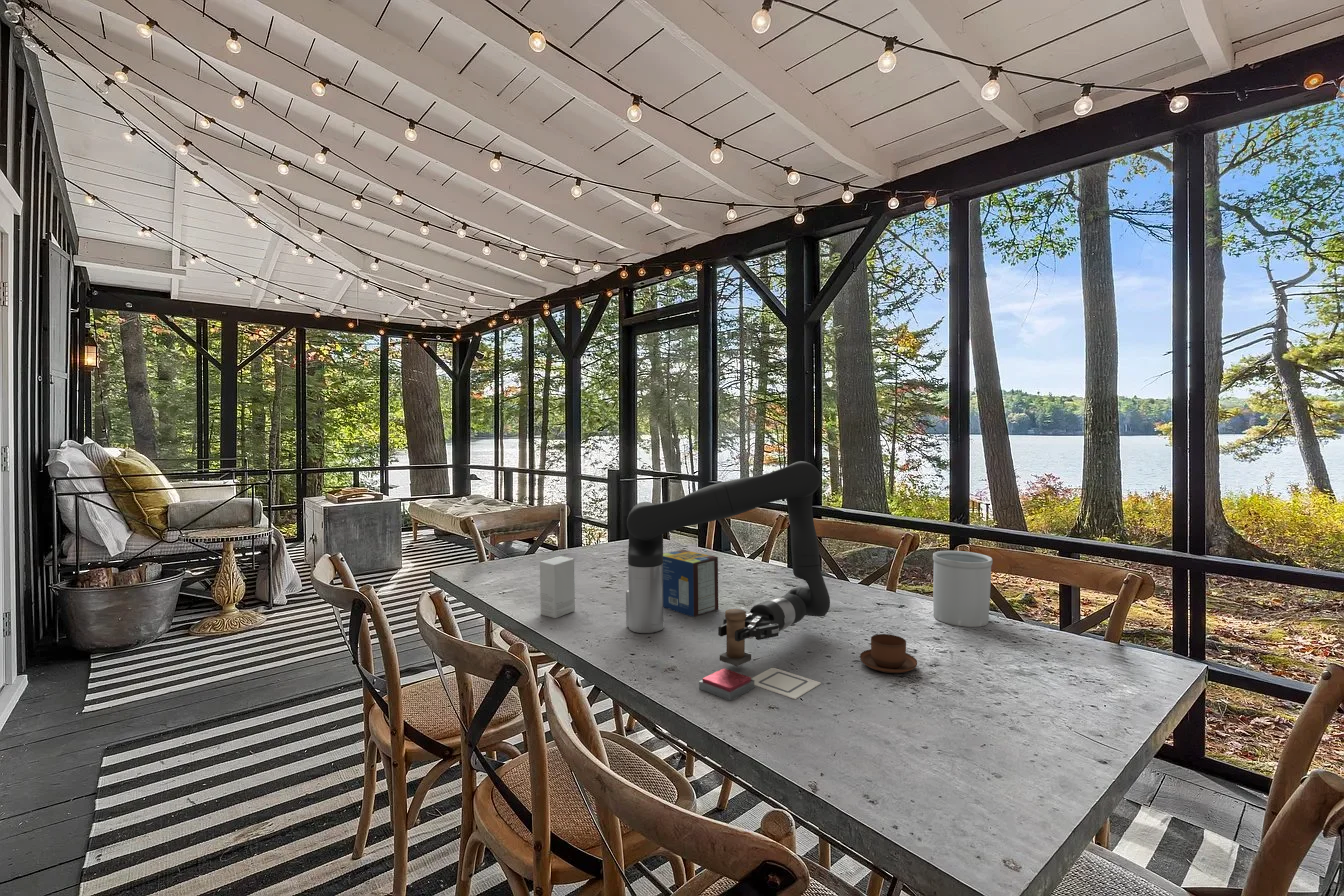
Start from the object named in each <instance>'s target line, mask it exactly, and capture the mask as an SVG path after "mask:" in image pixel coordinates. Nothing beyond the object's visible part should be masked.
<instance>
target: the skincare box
mask: <svg viewBox="0 0 1344 896" xmlns="http://www.w3.org/2000/svg"><path fill="white" fill-rule="evenodd" d="M575 584H576V583H575V558H572V557H567V556H561V555H560V556H556V557H552V558H549V559H545V560H544V559H543V560H542V561H539V587H540V588H539V591H540V592H539V593H540V594H539V597H540V603H539V604H540V615H541V616H545V617H548V618H553V619H557V618H560V617H562V616H566V615H567V614H570V613H574V612H575V611H576V596H575V595H576V592H575V591H576V589H575V588H576V587H575Z"/></svg>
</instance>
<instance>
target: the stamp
mask: <svg viewBox="0 0 1344 896" xmlns="http://www.w3.org/2000/svg"><path fill="white" fill-rule="evenodd" d="M724 614H725V615H724V618H726V619H727V635H726V647H725V649H726V650H725V651H726V652H723V653H721V654H719V661H720V662H722V663H726V664H729V665H732V666H736V667H740V666H742V665H744V664H747V663H748V662H750V661H752V654H750V653H747V652H746V651H745V647H746V646H745V645H746V644H745V643H746V642H745V641H746V639H744V640H741V641H739V642H738V641H735V631H737V630H739V629H742V628H744V627H745V619H746V614H747V611H746V610H744V609H741V608H729V609H726V610H725V613H724Z"/></svg>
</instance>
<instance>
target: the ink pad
mask: <svg viewBox="0 0 1344 896" xmlns="http://www.w3.org/2000/svg"><path fill="white" fill-rule="evenodd" d="M751 678H752V677H750V676H748V675H745V674H743V673H739V672H737V671H734V670H730V669H728V668H721V669H720V670H717V671H715V672H713V673H711V674H709V675H706V676H705V677H703V678H702V679H701V680H699V681H698V689H699V690H701V691H703V692H706V693H709V694H711V695H714V696H717V697H719V698H721V697H722V699H724V700H727V701H729V702H731V701H732V700H735V699H736V698H738V697H740V696H742V695H743V694H746V693H748V692H749V691H752V690H753V689H755V685H754V680H752V679H751Z"/></svg>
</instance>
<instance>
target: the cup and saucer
mask: <svg viewBox="0 0 1344 896" xmlns="http://www.w3.org/2000/svg"><path fill="white" fill-rule="evenodd" d="M859 657H860V661H861V662H862V664H863V665H865V666H867V667H869V668H870V669H872V670H875V671H876V672H877V671H878V672H882V673H888V674H904V673H908V672H912V671H913V670H914V669H915V668H916V667H918V660H917V658H916V657H914V656H913V655H911V654H909V653H907V640H906V639H904V638H903V637H901V636H899V635H894V634H890V633H889V634H888V633H887V634H886V633H879V634H874V635H872V636H871V637H870V649H866V650H863V651H862V652H860V654H859Z"/></svg>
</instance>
